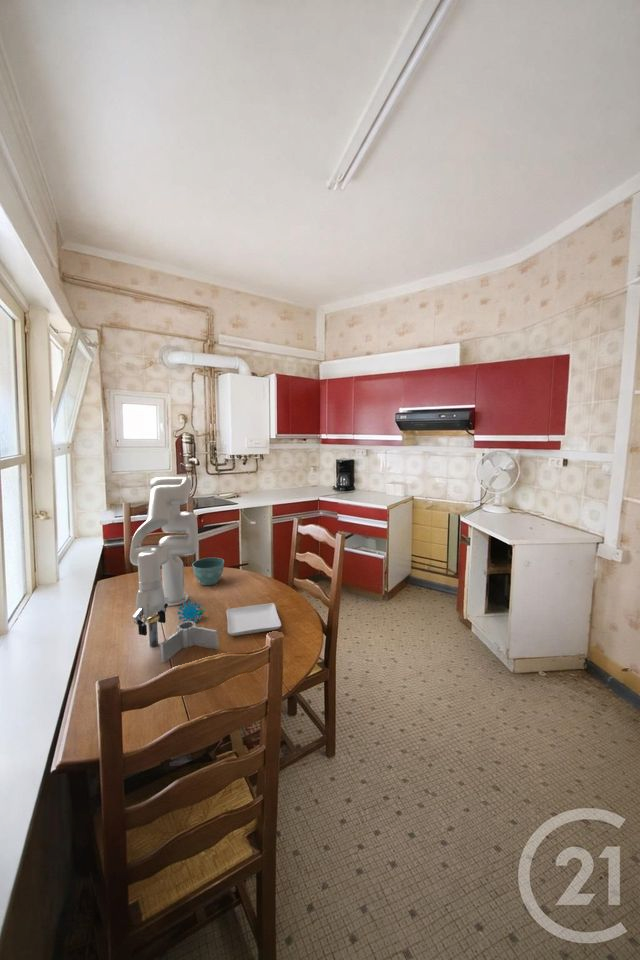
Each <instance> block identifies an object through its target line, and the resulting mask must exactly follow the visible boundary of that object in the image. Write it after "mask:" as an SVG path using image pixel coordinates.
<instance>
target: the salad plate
mask: <svg viewBox="0 0 640 960" xmlns="http://www.w3.org/2000/svg"><path fill="white" fill-rule="evenodd" d="M225 613H226V620H227V634H228V635H230V636H242V635H247V634H248V635H249V634H257V633H262V632H263V633H264V632H269V631H275V630H278V629H280V628H281V627H282V622H281V620H280V617H279V614H278V612H277V607H276V604H275V603H274V602H272V603H271V602H269V603H263V604H254V605H253V604H252V605H247V606H241V607H233V608H227V609H226V612H225Z"/></svg>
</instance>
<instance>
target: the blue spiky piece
mask: <svg viewBox="0 0 640 960" xmlns="http://www.w3.org/2000/svg"><path fill="white" fill-rule="evenodd" d="M192 603H193V604H192ZM197 604H198V601H194V602H193V601H192V600H188V605H187V601H186V602H184V603H182V605H183V606H182V605H180V606H179V607H178V609H179V610H178V611H177V615H178V620H179V621H181V620H182V619H183V620H182V622H185V621H193V622H195V623H197V622H198V619H201V618H202V615H203V613H204V612H205V611H206V609H205V608H202V607H201V604H198V605H197ZM196 605H197V606H196ZM183 607H184V608H183ZM201 608H202V609H201ZM181 611H182V612H181ZM181 615H182V616H181ZM196 617H197V618H196ZM193 619H194V620H193Z"/></svg>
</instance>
